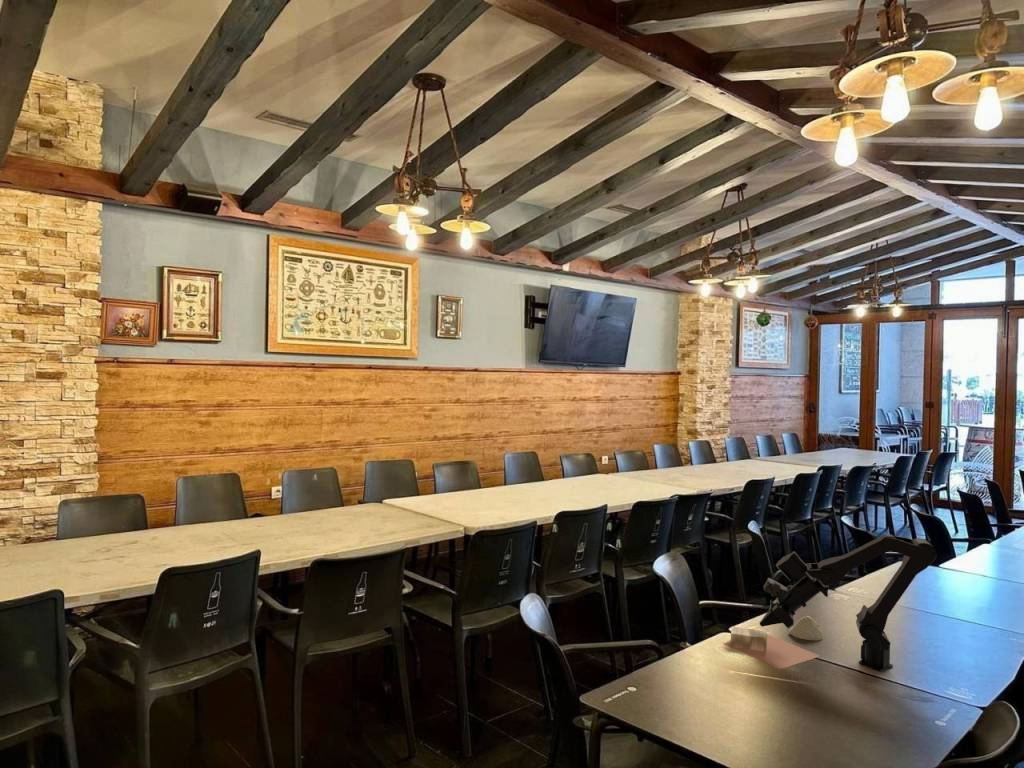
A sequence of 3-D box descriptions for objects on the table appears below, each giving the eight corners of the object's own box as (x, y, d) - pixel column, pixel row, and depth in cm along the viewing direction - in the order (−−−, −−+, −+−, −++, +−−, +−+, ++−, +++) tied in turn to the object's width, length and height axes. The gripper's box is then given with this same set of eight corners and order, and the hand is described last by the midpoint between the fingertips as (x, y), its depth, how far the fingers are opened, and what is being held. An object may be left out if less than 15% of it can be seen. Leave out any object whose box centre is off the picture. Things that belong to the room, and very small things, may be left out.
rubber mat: (820, 657, 198) (820, 656, 198) (780, 670, 189) (780, 669, 189) (763, 634, 215) (763, 633, 215) (723, 645, 206) (723, 643, 206)
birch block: (766, 631, 206) (731, 626, 209) (766, 638, 200) (730, 633, 204) (766, 644, 206) (731, 639, 210) (766, 651, 200) (730, 646, 204)
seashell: (830, 636, 209) (809, 624, 208) (811, 653, 212) (791, 641, 211) (822, 617, 216) (802, 605, 215) (804, 634, 219) (784, 622, 218)
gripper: (780, 563, 210) (741, 594, 214) (781, 580, 193) (739, 613, 197) (807, 591, 208) (767, 622, 212) (811, 611, 190) (768, 644, 194)
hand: (760, 625), depth 204 cm, fingers closed
